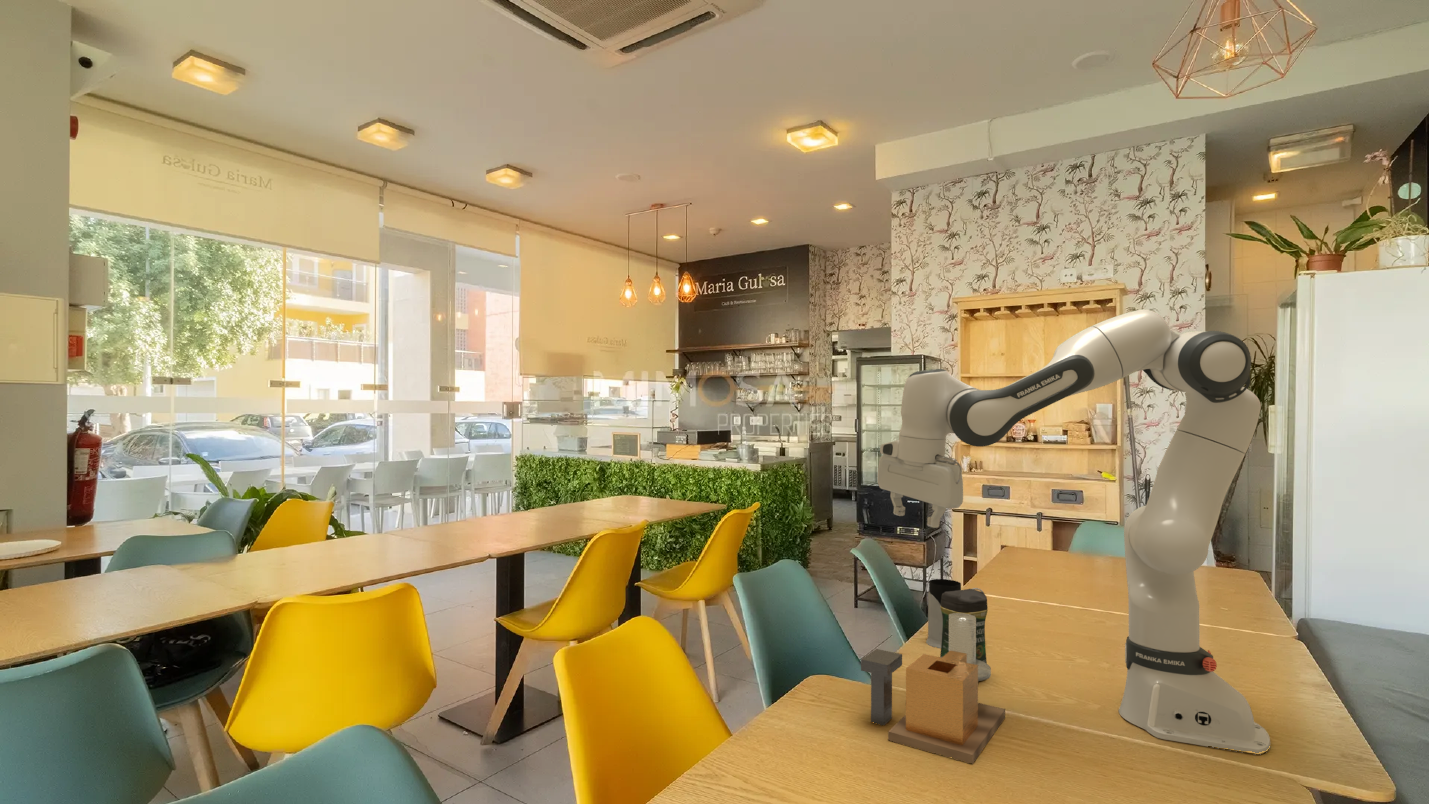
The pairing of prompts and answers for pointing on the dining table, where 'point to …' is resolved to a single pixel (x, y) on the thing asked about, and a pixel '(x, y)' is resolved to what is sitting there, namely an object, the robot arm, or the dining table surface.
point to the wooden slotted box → (947, 686)
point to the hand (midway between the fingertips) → (915, 520)
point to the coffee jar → (968, 604)
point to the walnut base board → (968, 752)
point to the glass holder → (938, 608)
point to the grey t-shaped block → (881, 682)
